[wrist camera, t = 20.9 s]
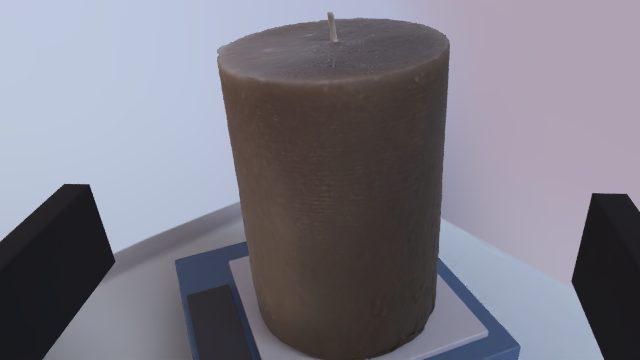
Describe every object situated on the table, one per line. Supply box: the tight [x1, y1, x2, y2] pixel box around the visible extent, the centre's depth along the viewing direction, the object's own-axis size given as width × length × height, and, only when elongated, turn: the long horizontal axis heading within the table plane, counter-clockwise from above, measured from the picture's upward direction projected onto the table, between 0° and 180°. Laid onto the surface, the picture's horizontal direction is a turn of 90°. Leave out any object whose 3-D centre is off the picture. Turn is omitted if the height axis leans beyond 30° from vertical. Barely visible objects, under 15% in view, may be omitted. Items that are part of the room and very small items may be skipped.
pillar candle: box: [217, 12, 450, 360], centre depth 24 cm, size 10×10×15 cm
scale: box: [175, 241, 520, 360], centre depth 29 cm, size 15×14×3 cm
